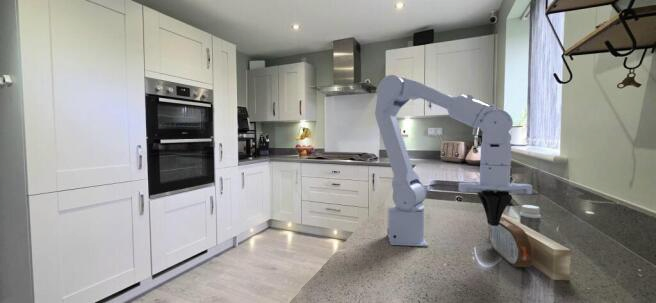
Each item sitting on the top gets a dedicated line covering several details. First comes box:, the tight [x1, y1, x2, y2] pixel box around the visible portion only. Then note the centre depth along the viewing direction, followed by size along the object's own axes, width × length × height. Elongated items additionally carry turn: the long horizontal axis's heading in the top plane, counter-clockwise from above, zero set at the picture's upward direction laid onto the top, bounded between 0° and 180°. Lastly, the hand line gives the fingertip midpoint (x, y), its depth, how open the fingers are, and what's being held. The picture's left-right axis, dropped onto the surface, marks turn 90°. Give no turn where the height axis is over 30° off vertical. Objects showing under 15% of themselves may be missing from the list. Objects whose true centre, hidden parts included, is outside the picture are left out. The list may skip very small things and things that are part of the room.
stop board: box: [501, 213, 572, 281], centre depth 63 cm, size 3×24×6 cm, turn 173°
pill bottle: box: [519, 204, 542, 234], centre depth 74 cm, size 5×5×8 cm
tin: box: [487, 217, 533, 269], centre depth 61 cm, size 15×3×8 cm, turn 170°
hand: (492, 224), depth 59 cm, fingers closed
